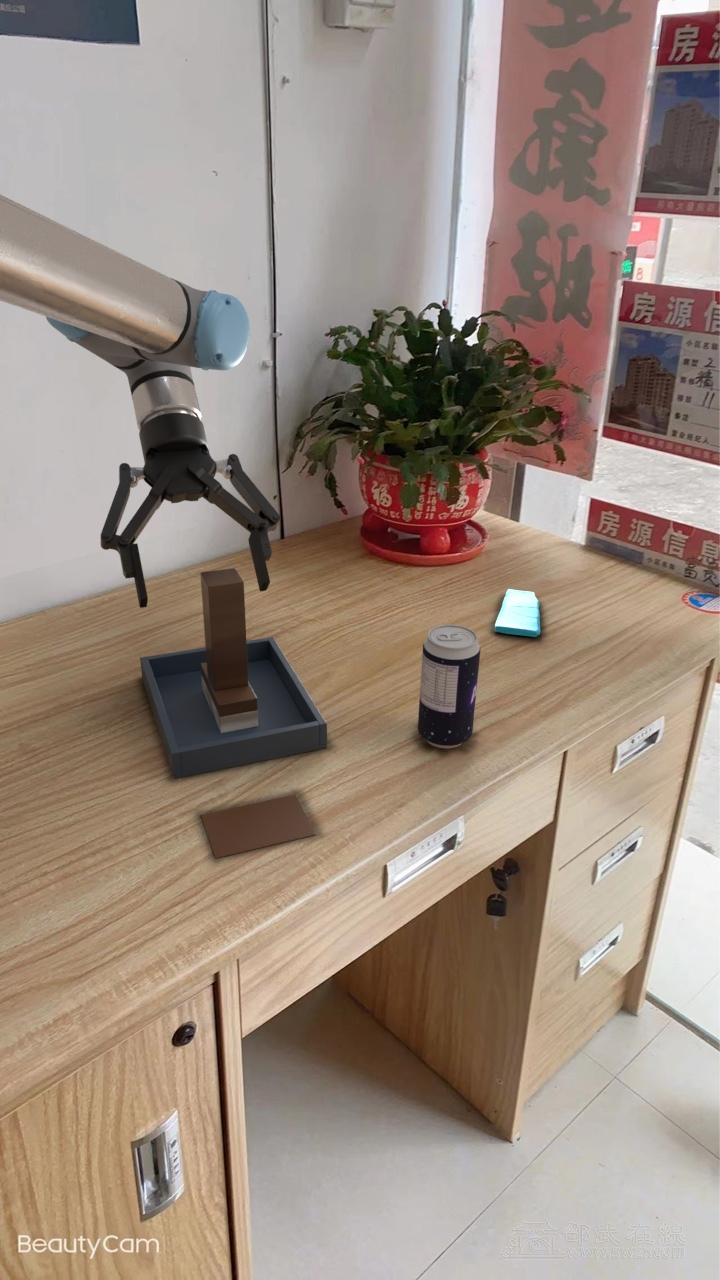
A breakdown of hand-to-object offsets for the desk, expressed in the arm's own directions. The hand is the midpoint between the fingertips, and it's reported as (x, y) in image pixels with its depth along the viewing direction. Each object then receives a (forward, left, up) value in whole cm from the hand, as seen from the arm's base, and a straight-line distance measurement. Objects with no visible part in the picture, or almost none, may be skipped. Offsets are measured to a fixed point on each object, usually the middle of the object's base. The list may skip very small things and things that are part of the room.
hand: (205, 595), depth 98 cm
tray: (0, -9, -10) cm, 13 cm away
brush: (0, -9, -9) cm, 13 cm away
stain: (-2, -28, -10) cm, 30 cm away
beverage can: (+20, -21, -10) cm, 31 cm away
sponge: (+42, +1, -10) cm, 43 cm away
